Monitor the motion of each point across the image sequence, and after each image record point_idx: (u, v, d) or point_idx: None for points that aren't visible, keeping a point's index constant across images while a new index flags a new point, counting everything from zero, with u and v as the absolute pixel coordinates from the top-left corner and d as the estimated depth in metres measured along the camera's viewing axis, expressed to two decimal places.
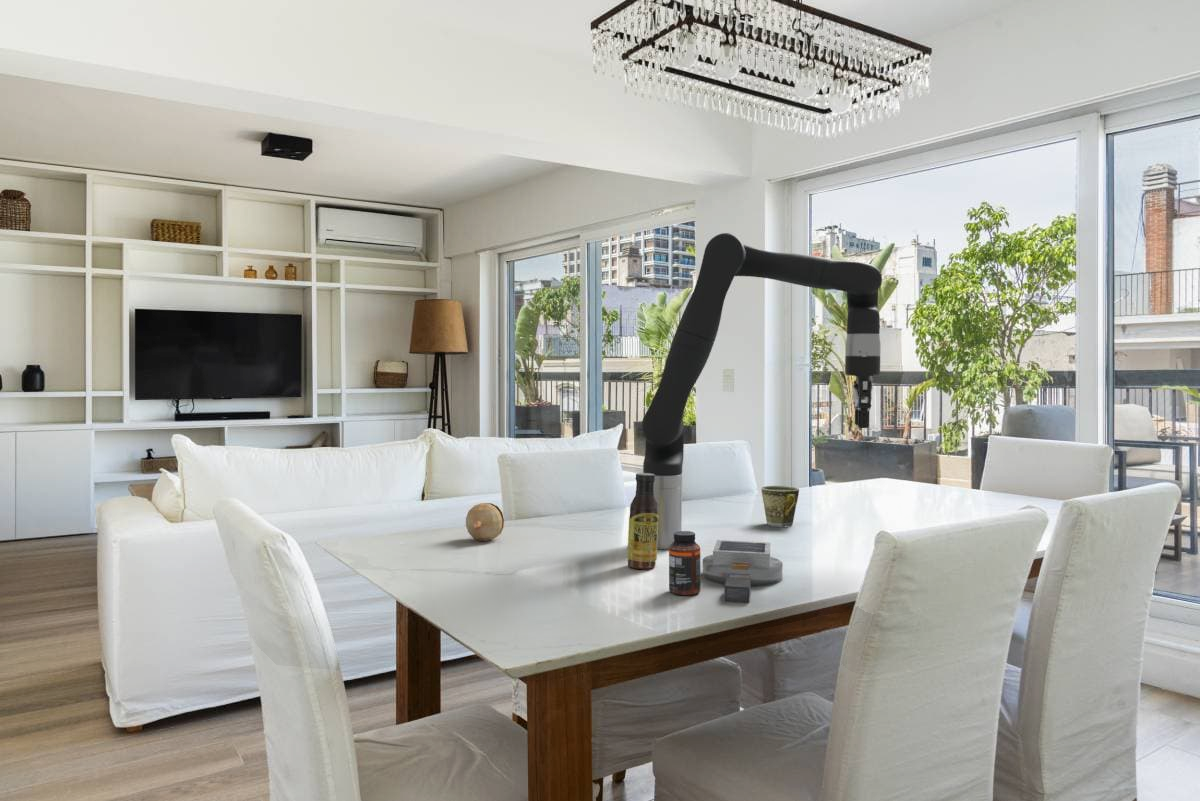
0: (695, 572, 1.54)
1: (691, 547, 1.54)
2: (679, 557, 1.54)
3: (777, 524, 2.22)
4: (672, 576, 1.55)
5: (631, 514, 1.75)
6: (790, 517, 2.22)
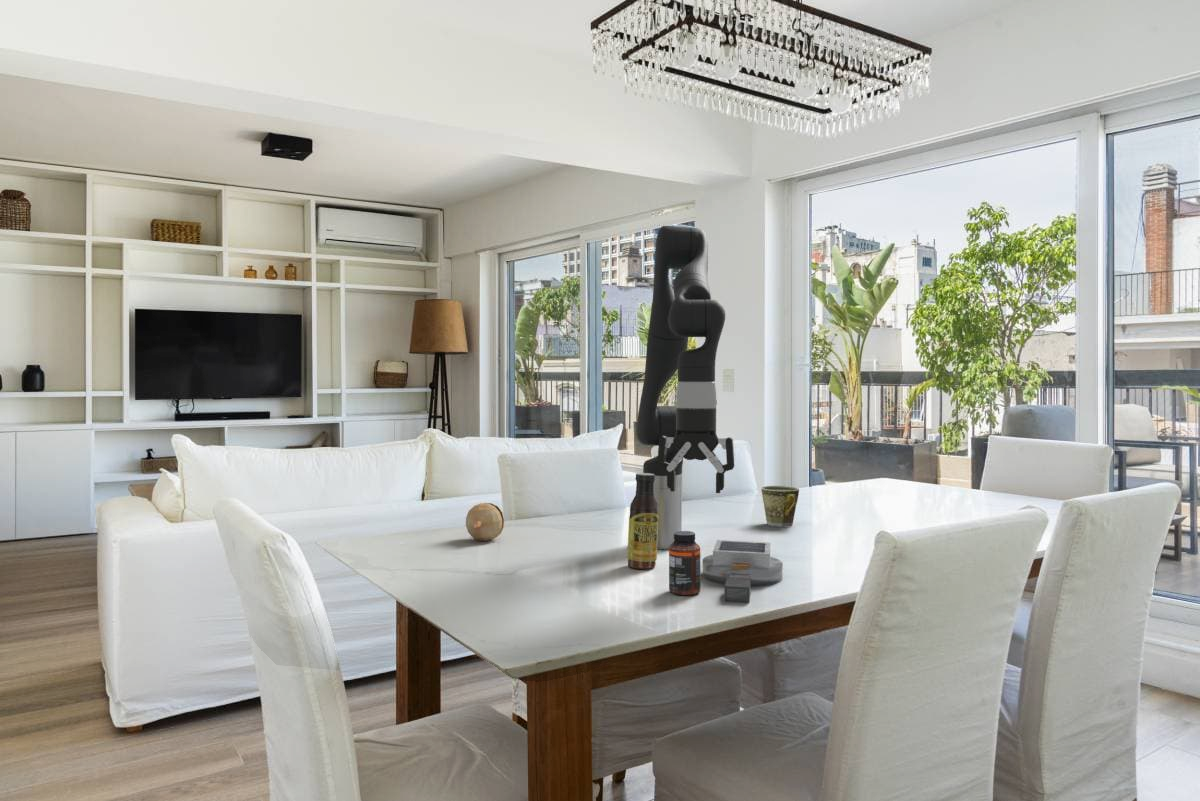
0: (695, 572, 1.54)
1: (691, 547, 1.54)
2: (679, 557, 1.54)
3: (777, 524, 2.22)
4: (672, 576, 1.55)
5: (631, 514, 1.75)
6: (790, 517, 2.22)
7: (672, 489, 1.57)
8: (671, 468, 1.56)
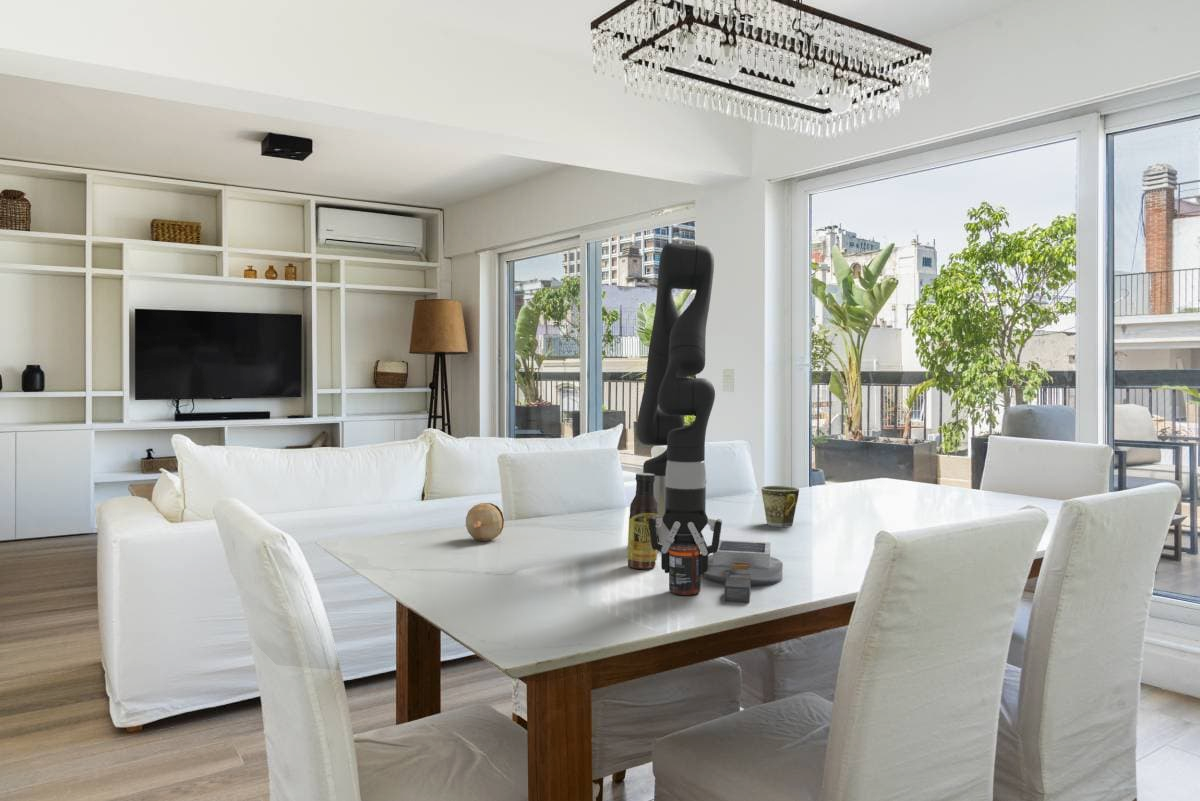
0: (695, 572, 1.54)
1: (691, 547, 1.54)
2: (680, 557, 1.54)
3: (777, 524, 2.22)
4: (672, 576, 1.55)
5: (631, 514, 1.75)
6: (790, 517, 2.22)
7: (666, 571, 1.56)
8: (665, 550, 1.56)
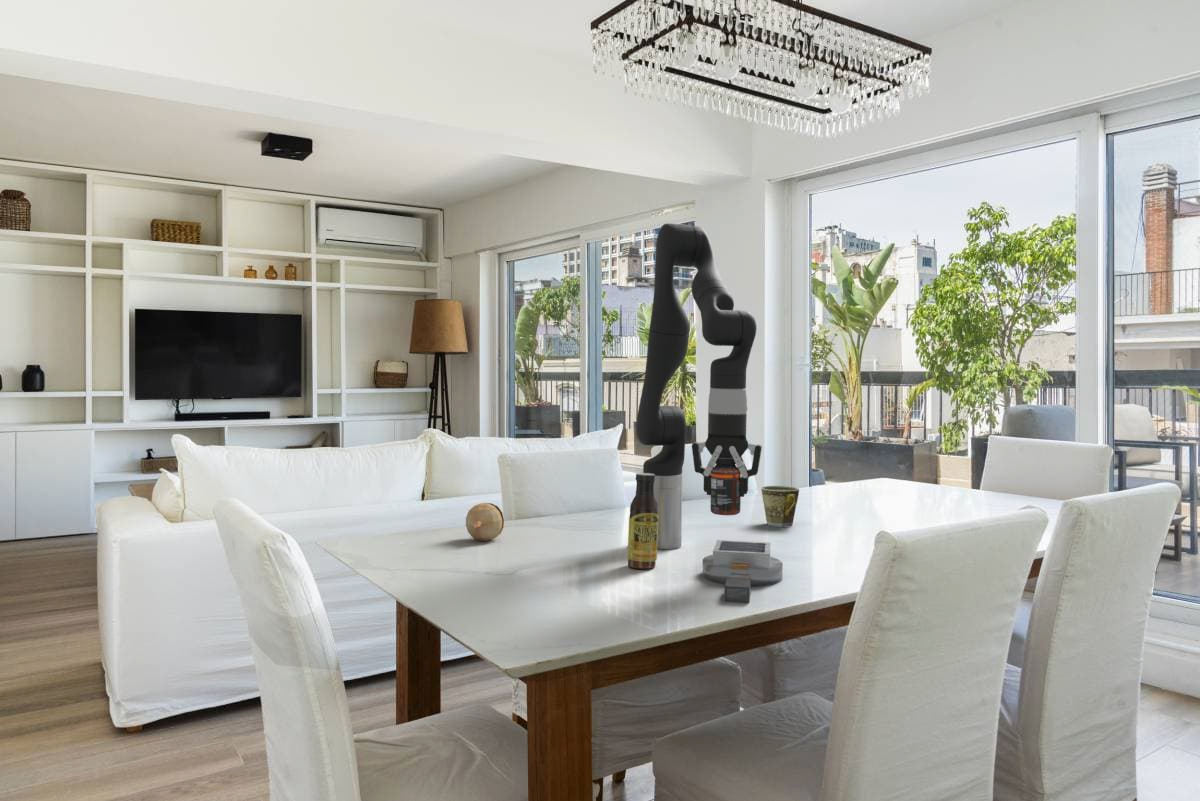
0: (735, 493, 1.63)
1: (732, 470, 1.63)
2: (721, 479, 1.63)
3: (777, 524, 2.22)
4: (714, 497, 1.64)
5: (631, 514, 1.75)
6: (790, 517, 2.22)
7: (708, 493, 1.65)
8: (708, 473, 1.65)
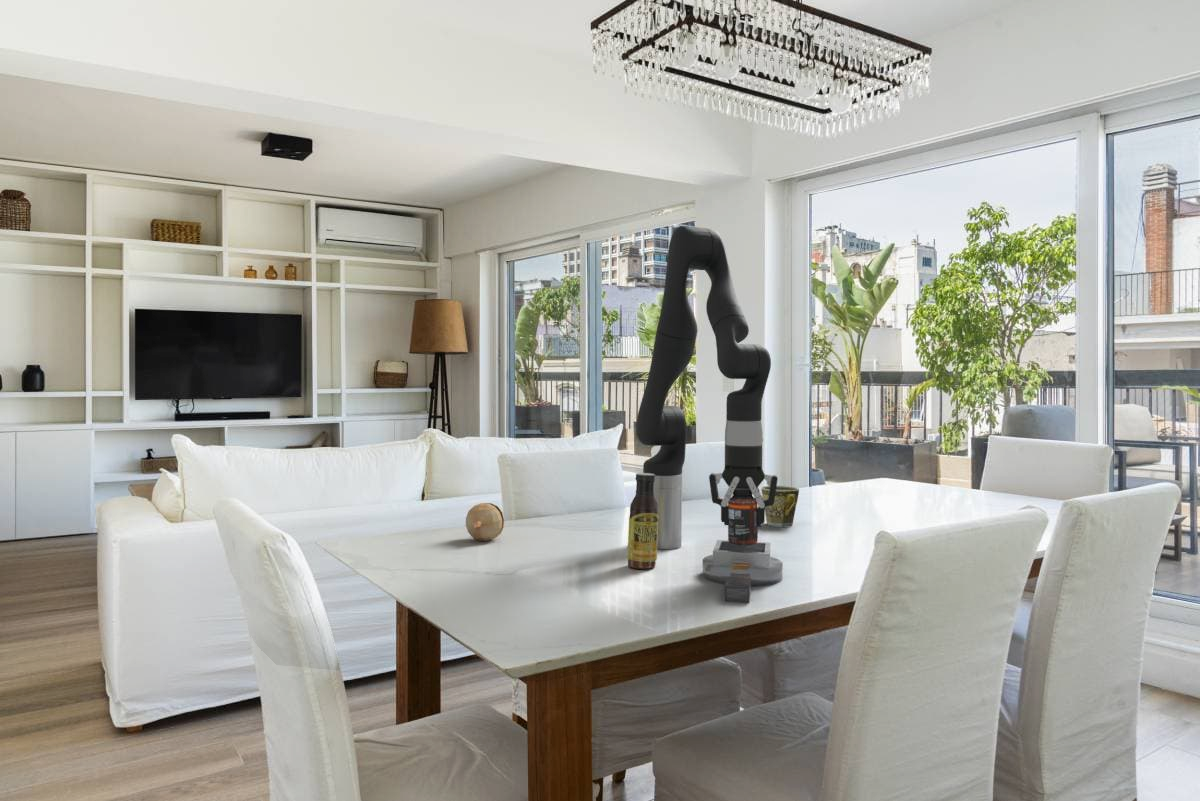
0: (753, 523, 1.66)
1: (749, 500, 1.66)
2: (739, 510, 1.66)
3: (777, 524, 2.22)
4: (732, 528, 1.67)
5: (631, 514, 1.75)
6: (790, 517, 2.22)
7: (726, 523, 1.68)
8: (725, 504, 1.68)
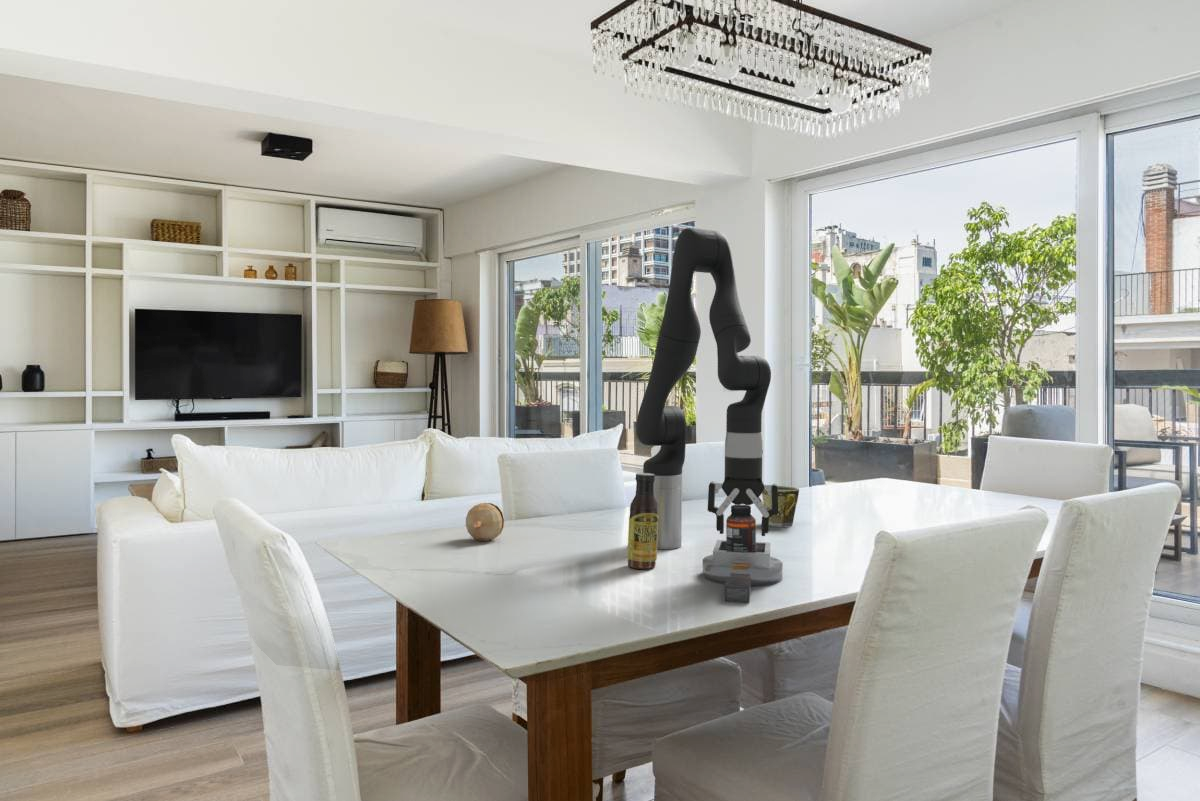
0: (751, 542, 1.67)
1: (748, 519, 1.67)
2: (737, 528, 1.66)
3: (777, 524, 2.22)
4: (730, 546, 1.67)
5: (631, 514, 1.75)
6: (790, 517, 2.22)
7: (721, 532, 1.69)
8: (720, 512, 1.68)
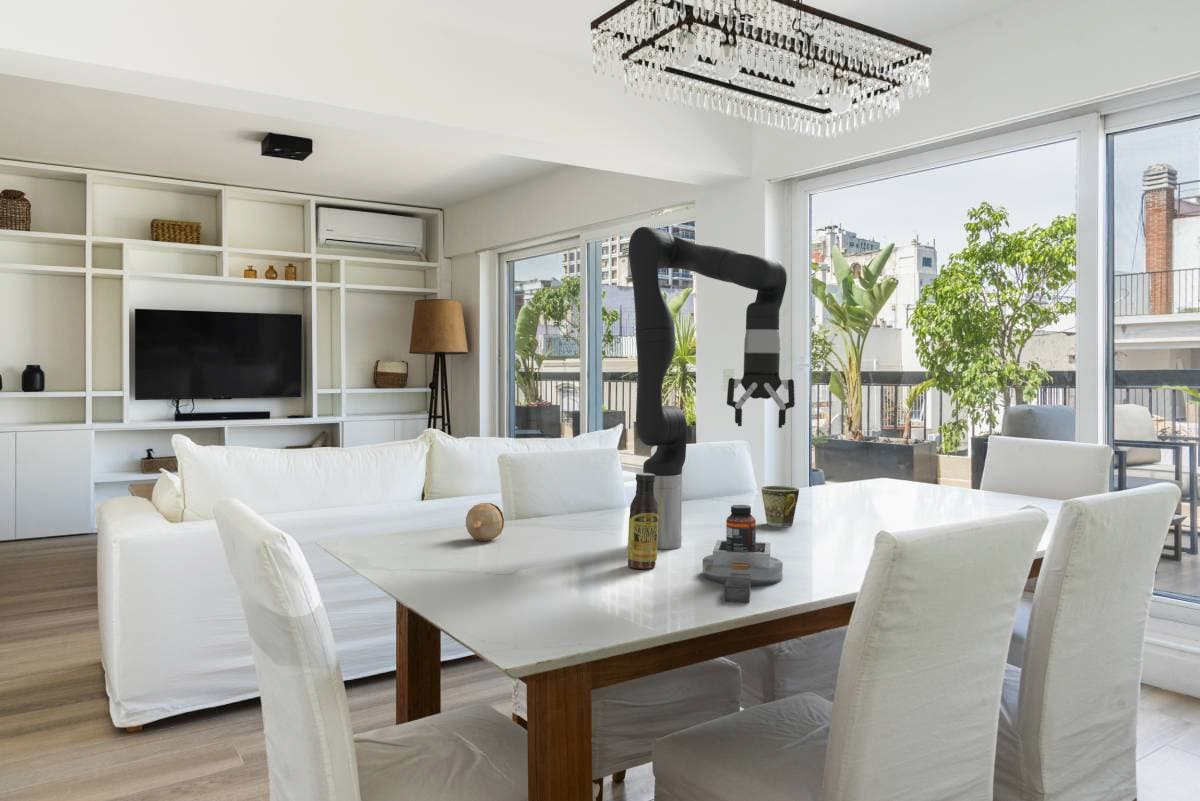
0: (751, 542, 1.67)
1: (748, 519, 1.66)
2: (737, 528, 1.66)
3: (777, 524, 2.22)
4: (730, 546, 1.67)
5: (631, 514, 1.75)
6: (790, 517, 2.22)
7: (739, 424, 1.79)
8: (739, 405, 1.78)
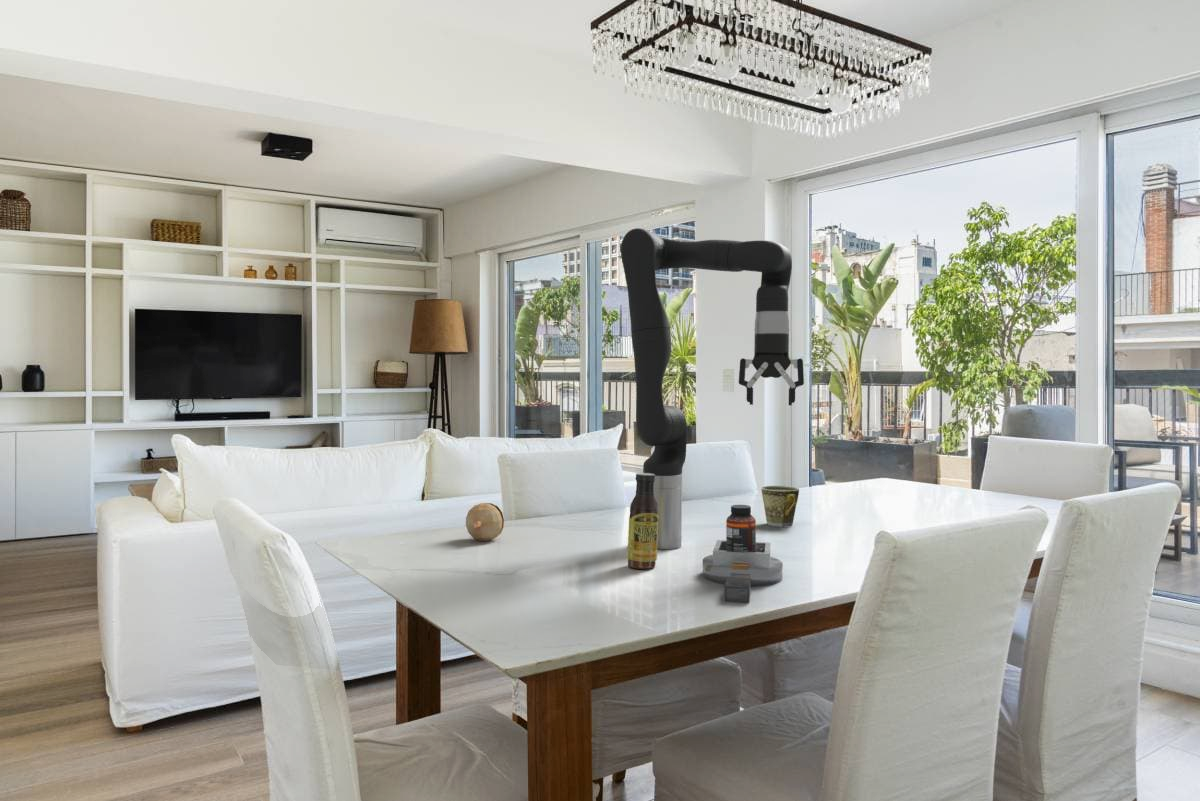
0: (751, 542, 1.67)
1: (748, 519, 1.66)
2: (737, 528, 1.66)
3: (777, 524, 2.22)
4: (730, 546, 1.67)
5: (631, 514, 1.75)
6: (790, 517, 2.22)
7: (751, 402, 1.86)
8: (750, 385, 1.86)
